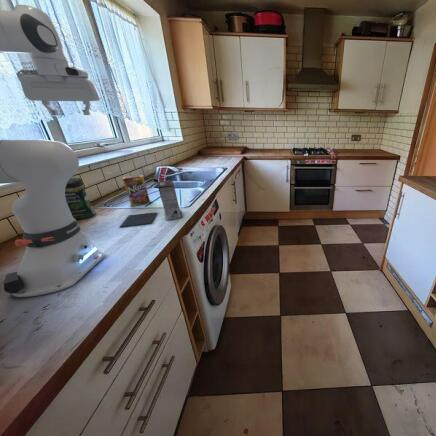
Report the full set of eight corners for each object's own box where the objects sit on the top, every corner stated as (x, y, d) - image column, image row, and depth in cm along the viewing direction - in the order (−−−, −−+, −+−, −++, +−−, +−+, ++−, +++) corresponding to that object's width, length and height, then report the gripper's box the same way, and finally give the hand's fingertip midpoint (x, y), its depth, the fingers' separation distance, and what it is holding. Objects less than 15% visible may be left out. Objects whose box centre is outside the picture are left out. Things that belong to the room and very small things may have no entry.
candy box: (131, 207, 119) (122, 178, 112) (131, 204, 122) (122, 176, 115) (150, 203, 123) (142, 176, 116) (150, 201, 126) (142, 174, 120)
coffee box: (165, 213, 111) (156, 181, 104) (179, 210, 114) (172, 179, 107) (166, 220, 104) (157, 186, 97) (181, 217, 107) (174, 184, 100)
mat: (151, 223, 101) (151, 222, 101) (120, 227, 98) (119, 226, 98) (157, 213, 111) (157, 212, 111) (129, 216, 108) (129, 215, 108)
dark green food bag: (66, 221, 103) (47, 182, 95) (74, 214, 110) (57, 177, 102) (92, 218, 106) (75, 179, 98) (98, 211, 113) (83, 175, 105)
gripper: (7, 67, 71) (29, 115, 77) (86, 71, 78) (101, 115, 84) (20, 70, 77) (40, 115, 83) (93, 73, 83) (107, 114, 89)
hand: (71, 115), depth 83 cm, fingers open, 8 cm apart
